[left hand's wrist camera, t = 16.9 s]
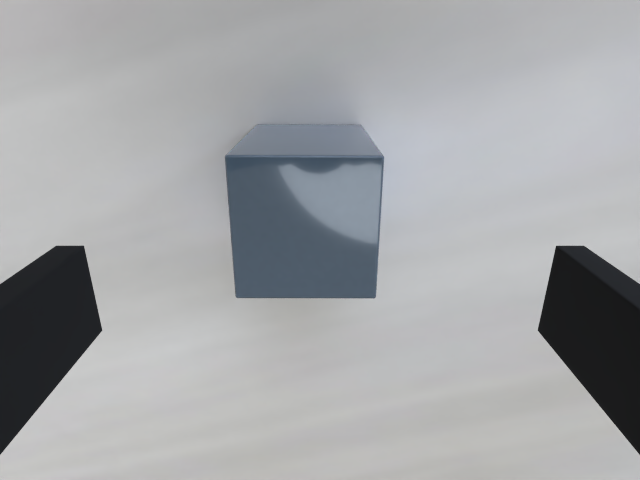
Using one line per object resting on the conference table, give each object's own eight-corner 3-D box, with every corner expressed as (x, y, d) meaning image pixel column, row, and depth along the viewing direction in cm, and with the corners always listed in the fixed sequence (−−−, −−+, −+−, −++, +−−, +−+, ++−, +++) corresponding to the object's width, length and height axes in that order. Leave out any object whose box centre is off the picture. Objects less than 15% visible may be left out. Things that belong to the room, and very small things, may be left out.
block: (256, 123, 26) (224, 155, 17) (361, 124, 26) (384, 155, 17) (261, 224, 28) (235, 298, 20) (357, 225, 29) (376, 299, 20)
